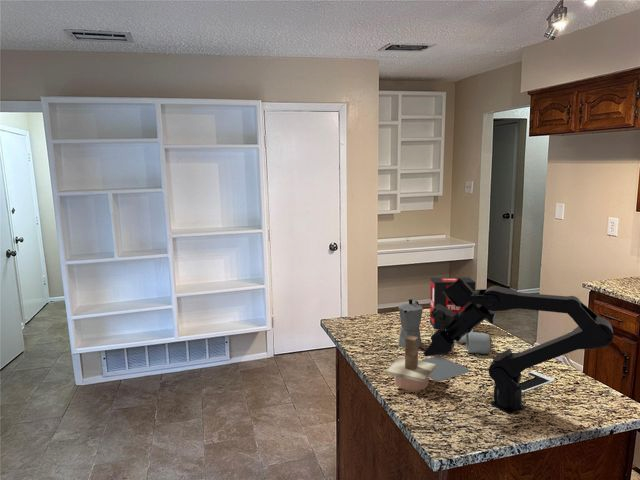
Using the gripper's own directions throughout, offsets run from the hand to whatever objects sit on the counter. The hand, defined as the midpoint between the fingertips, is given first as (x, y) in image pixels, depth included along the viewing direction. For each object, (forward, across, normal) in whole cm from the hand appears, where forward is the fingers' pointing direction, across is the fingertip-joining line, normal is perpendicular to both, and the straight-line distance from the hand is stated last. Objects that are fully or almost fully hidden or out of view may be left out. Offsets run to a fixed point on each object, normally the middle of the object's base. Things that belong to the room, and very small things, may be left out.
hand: (429, 349), depth 134 cm
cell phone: (-8, -19, +27) cm, 34 cm away
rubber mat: (+10, -15, +8) cm, 19 cm away
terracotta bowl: (+13, 0, +5) cm, 14 cm away
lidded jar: (+11, -46, +7) cm, 47 cm away
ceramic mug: (+5, -37, +13) cm, 39 cm away
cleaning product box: (+16, -61, +2) cm, 63 cm away
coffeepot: (+21, -32, -3) cm, 38 cm away
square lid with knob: (+10, 0, +2) cm, 10 cm away
